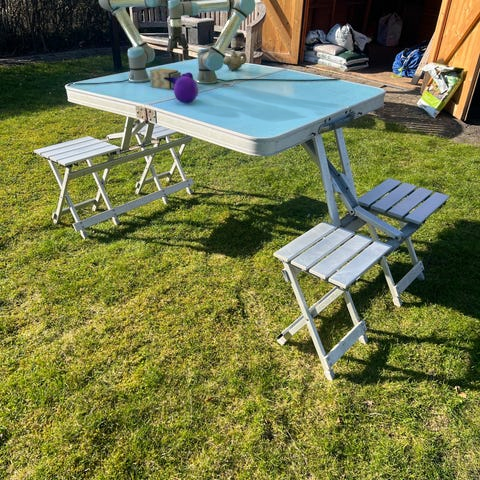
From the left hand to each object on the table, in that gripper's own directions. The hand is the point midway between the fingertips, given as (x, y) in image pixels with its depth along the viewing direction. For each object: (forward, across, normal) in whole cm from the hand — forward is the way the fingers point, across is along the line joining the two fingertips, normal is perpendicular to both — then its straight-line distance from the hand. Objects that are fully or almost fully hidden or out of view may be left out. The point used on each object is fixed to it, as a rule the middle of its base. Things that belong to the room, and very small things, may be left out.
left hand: (178, 47), depth 332 cm
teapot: (+22, +37, -38) cm, 57 cm away
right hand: (+4, -35, -9) cm, 36 cm away
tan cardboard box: (+23, -28, +4) cm, 37 cm away
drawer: (+22, -31, -1) cm, 38 cm away
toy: (+22, -70, -18) cm, 76 cm away
